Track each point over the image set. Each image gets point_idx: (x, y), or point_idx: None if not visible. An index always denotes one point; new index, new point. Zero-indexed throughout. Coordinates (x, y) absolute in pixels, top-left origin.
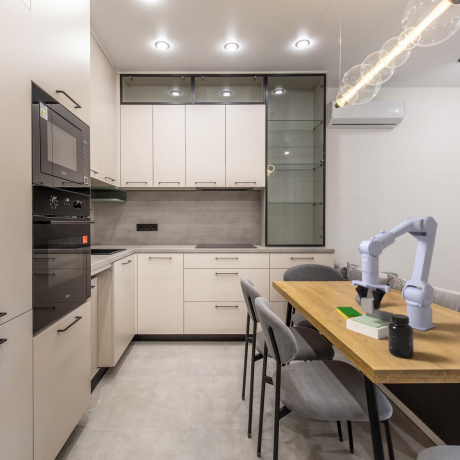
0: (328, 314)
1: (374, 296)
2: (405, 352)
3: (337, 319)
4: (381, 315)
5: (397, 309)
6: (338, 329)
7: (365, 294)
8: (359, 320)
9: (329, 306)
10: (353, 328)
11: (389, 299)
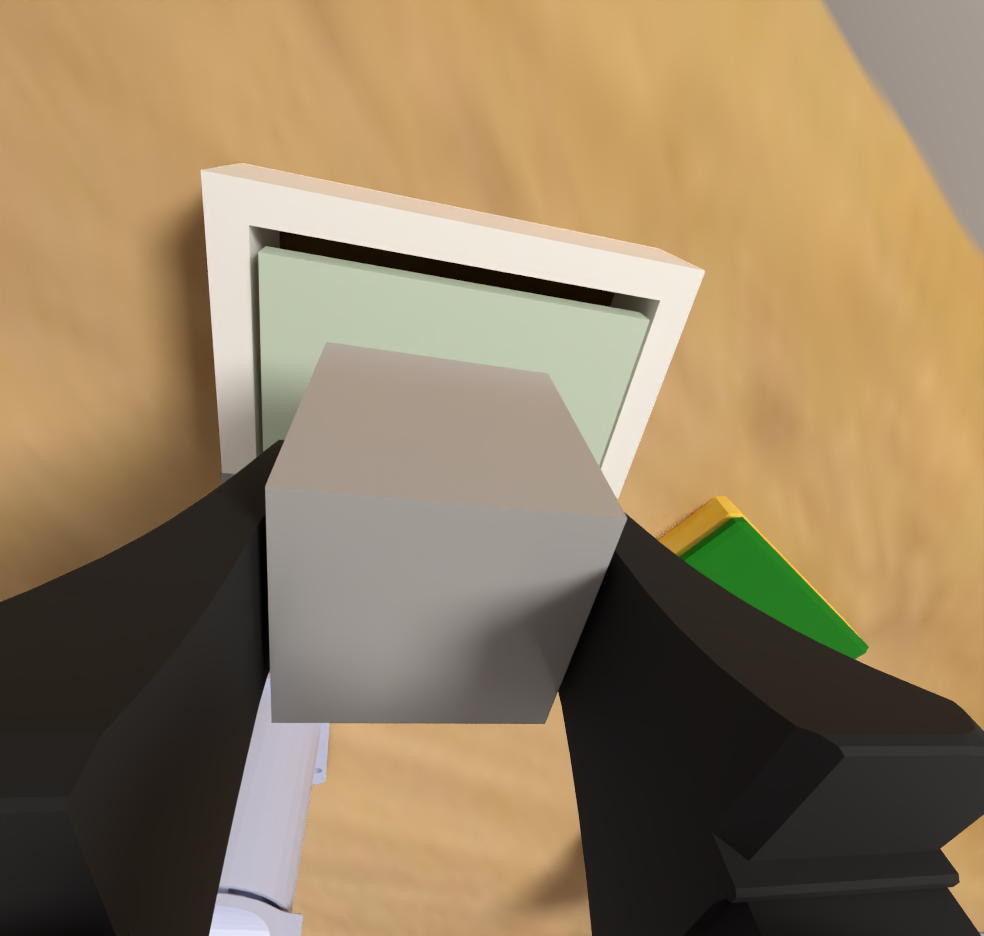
0: (900, 503)
1: (145, 606)
2: None
3: (801, 442)
4: None
5: (504, 859)
6: (726, 134)
7: (595, 721)
8: (548, 334)
9: (911, 662)
10: (576, 233)
11: None
